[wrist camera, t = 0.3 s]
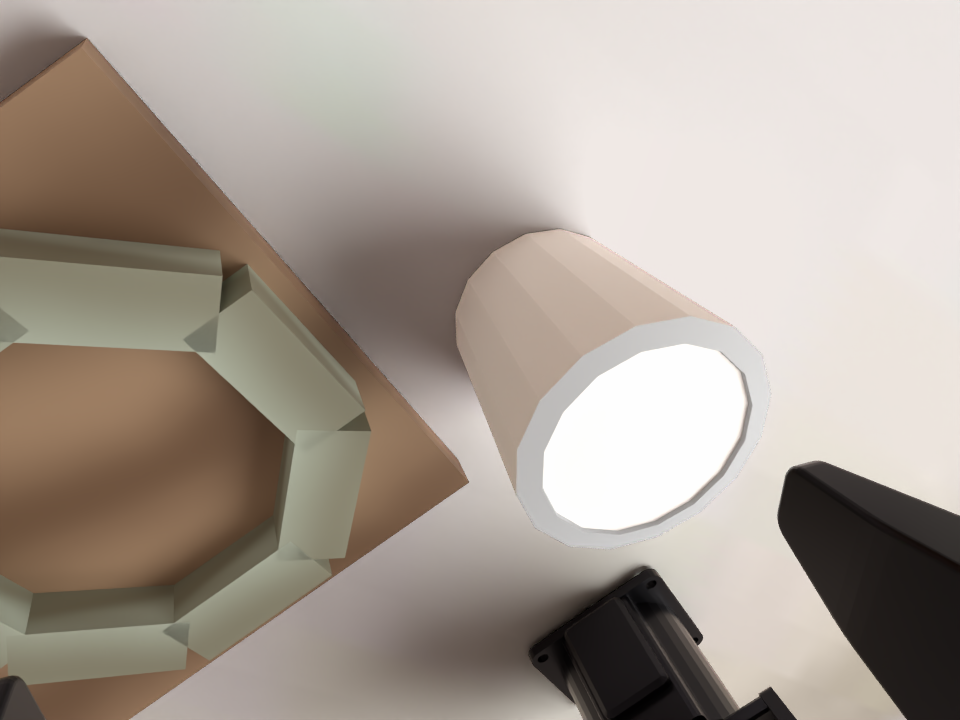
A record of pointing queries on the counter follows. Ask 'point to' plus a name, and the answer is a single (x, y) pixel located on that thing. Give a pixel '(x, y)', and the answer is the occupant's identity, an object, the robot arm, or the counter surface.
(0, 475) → the gear board
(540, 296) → the white cylinder
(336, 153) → the counter surface
